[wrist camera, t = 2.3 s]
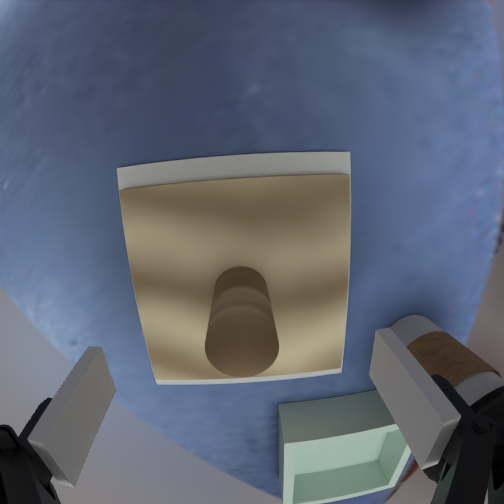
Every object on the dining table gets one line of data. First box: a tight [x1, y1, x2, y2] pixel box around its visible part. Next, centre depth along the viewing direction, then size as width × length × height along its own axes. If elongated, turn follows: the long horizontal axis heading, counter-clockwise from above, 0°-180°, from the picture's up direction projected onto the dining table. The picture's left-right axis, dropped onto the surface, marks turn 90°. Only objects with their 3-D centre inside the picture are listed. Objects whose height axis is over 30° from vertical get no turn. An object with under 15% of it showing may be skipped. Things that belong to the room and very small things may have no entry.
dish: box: [278, 390, 411, 504], centre depth 27 cm, size 13×13×5 cm
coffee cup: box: [390, 315, 504, 484], centre depth 19 cm, size 8×8×15 cm
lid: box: [119, 174, 350, 380], centre depth 19 cm, size 15×15×8 cm
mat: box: [117, 152, 351, 384], centre depth 23 cm, size 18×16×1 cm
